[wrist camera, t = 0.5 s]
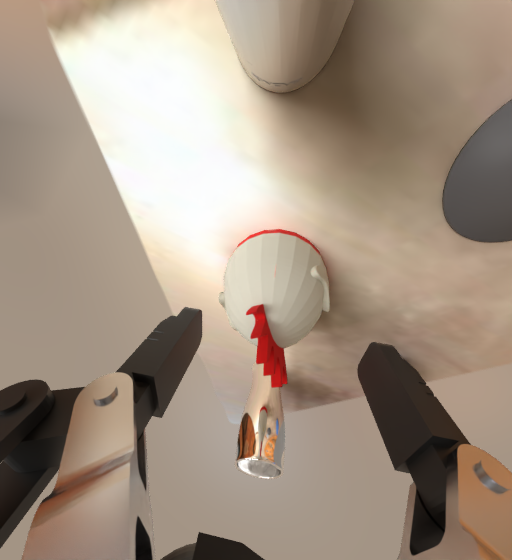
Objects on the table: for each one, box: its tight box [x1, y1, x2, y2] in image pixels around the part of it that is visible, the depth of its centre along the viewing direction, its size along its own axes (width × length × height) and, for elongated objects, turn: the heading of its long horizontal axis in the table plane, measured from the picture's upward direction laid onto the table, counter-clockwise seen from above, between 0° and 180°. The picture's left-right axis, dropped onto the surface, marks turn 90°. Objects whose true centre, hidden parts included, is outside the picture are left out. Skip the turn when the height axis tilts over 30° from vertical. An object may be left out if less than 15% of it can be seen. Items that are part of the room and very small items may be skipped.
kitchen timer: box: [219, 229, 330, 388], centre depth 21 cm, size 14×14×15 cm
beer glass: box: [235, 362, 285, 479], centre depth 32 cm, size 7×7×15 cm
